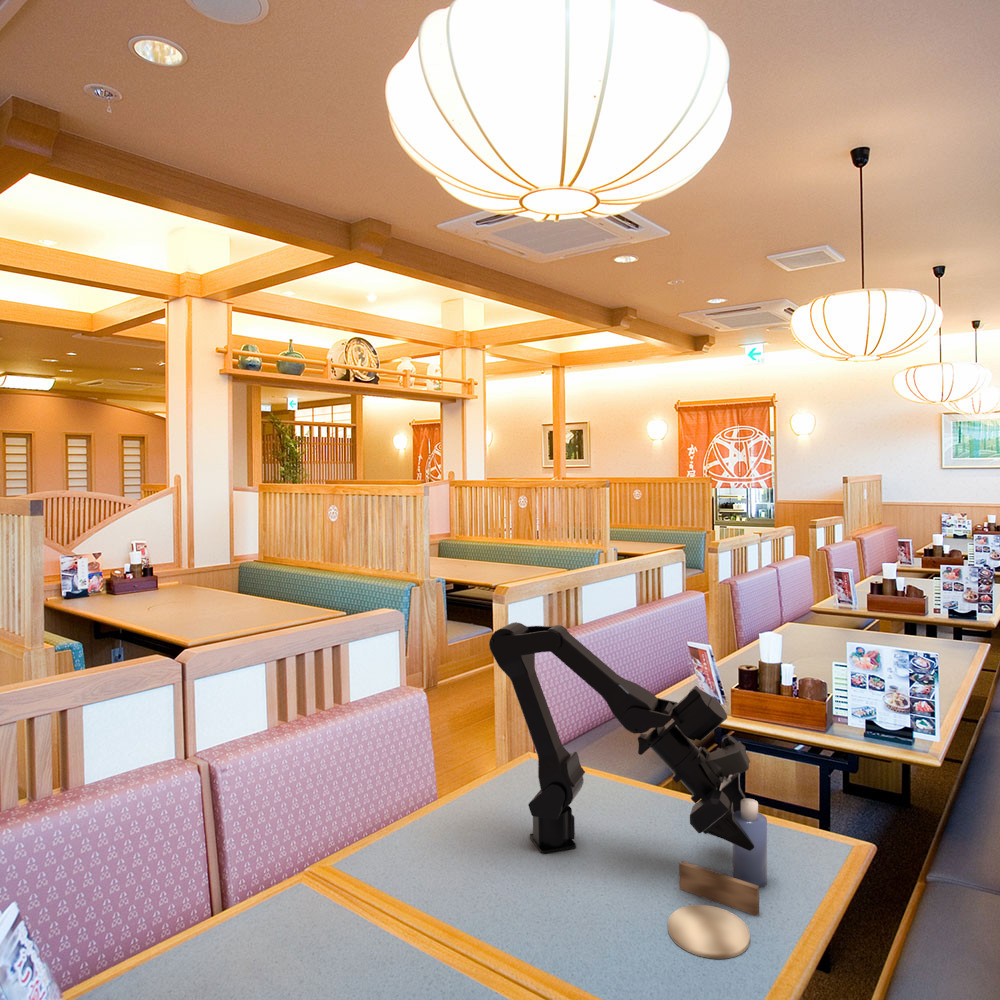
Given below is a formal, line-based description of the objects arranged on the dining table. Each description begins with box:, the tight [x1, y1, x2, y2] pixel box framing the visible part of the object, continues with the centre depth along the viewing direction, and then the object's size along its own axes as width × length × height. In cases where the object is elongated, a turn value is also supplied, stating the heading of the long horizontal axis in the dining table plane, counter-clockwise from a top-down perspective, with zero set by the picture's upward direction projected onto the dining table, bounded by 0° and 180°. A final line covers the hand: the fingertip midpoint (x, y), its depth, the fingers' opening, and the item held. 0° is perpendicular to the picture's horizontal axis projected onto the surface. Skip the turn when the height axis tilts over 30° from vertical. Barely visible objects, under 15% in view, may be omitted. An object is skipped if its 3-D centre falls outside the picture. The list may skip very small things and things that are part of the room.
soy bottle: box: [731, 797, 768, 889], centre depth 116 cm, size 5×5×12 cm
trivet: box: [667, 904, 751, 960], centre depth 103 cm, size 11×11×1 cm
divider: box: [678, 860, 760, 917], centre depth 111 cm, size 12×1×4 cm, turn 52°
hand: (754, 835), depth 116 cm, fingers open, 9 cm apart
